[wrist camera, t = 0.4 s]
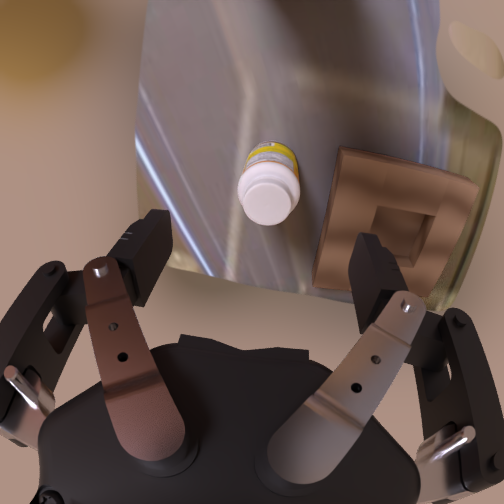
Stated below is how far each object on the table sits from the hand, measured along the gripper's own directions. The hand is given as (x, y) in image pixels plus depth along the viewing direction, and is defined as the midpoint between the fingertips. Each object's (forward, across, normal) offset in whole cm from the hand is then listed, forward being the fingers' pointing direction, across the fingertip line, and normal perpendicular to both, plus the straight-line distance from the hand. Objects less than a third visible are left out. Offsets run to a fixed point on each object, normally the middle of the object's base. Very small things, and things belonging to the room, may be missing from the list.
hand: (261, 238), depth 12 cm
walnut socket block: (+22, -16, +10) cm, 28 cm away
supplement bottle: (+22, 0, +4) cm, 22 cm away
